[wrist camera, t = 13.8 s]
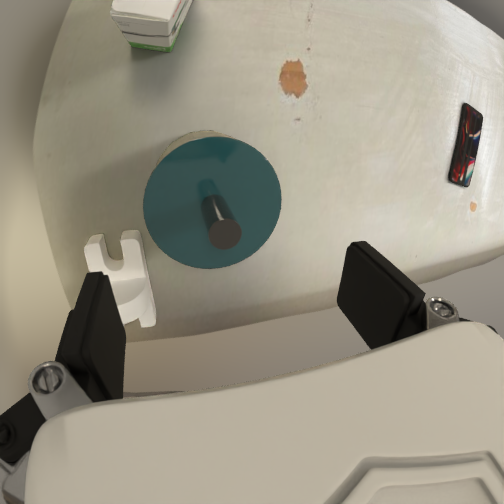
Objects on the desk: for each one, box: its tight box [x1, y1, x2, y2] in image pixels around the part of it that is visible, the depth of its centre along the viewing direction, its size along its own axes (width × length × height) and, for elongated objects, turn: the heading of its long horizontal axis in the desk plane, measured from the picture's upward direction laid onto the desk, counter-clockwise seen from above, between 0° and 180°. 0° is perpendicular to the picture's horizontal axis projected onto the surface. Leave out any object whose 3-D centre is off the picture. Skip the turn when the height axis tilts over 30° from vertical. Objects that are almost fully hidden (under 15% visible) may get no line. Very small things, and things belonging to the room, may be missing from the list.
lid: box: [143, 136, 281, 269], centre depth 24 cm, size 13×13×6 cm
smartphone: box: [449, 103, 483, 187], centre depth 40 cm, size 7×1×15 cm
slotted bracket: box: [84, 230, 156, 327], centre depth 33 cm, size 13×7×8 cm, turn 0°
